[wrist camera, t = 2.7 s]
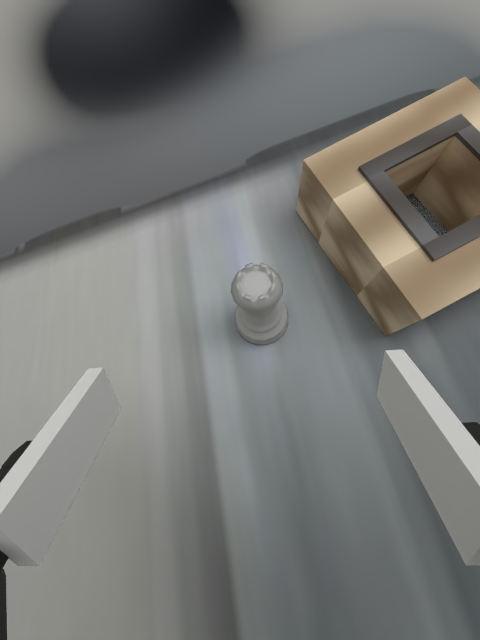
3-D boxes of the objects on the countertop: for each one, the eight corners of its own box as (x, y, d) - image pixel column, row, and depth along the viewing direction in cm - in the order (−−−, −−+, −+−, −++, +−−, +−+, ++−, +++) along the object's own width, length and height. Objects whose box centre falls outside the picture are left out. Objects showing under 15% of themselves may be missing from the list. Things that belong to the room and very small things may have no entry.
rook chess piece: (233, 301, 25) (215, 255, 17) (283, 293, 25) (286, 242, 17) (239, 349, 24) (222, 322, 16) (292, 342, 23) (300, 310, 16)
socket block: (529, 258, 23) (621, 211, 17) (383, 337, 23) (424, 318, 17) (423, 144, 27) (468, 72, 21) (295, 210, 27) (303, 156, 20)
